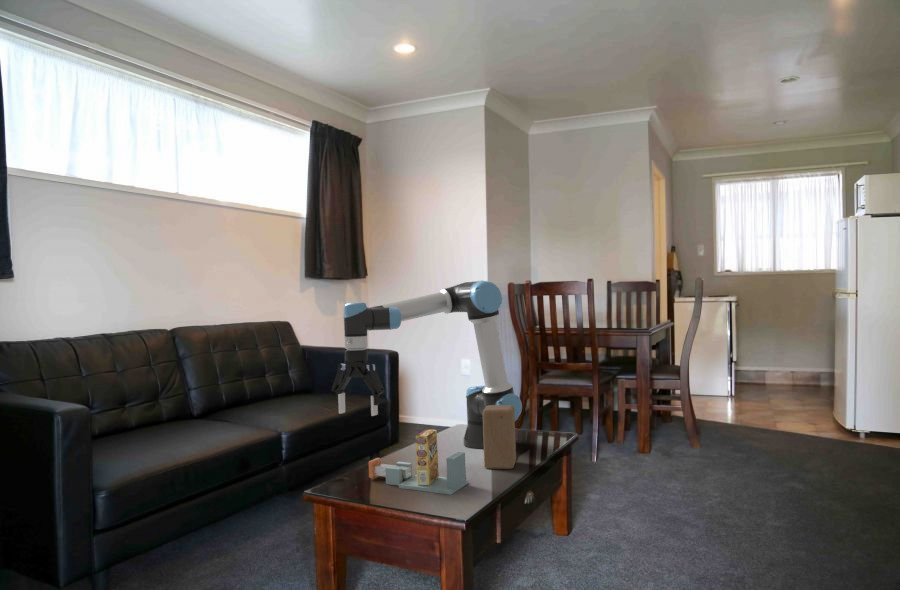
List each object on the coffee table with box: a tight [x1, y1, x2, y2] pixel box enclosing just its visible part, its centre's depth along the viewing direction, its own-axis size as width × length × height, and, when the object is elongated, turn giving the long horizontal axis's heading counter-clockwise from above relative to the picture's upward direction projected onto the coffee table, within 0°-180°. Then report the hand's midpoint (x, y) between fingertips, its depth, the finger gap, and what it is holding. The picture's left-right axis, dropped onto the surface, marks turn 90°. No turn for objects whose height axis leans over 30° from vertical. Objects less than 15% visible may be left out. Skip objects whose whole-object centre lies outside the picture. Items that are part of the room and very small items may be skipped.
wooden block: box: [483, 405, 517, 470], centre depth 207 cm, size 10×10×20 cm
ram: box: [368, 457, 411, 480], centre depth 194 cm, size 5×13×5 cm, turn 63°
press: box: [385, 451, 469, 495], centre depth 188 cm, size 12×24×10 cm, turn 63°
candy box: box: [415, 429, 440, 486], centre depth 188 cm, size 9×4×15 cm, turn 162°
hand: (358, 414), depth 199 cm, fingers open, 12 cm apart
